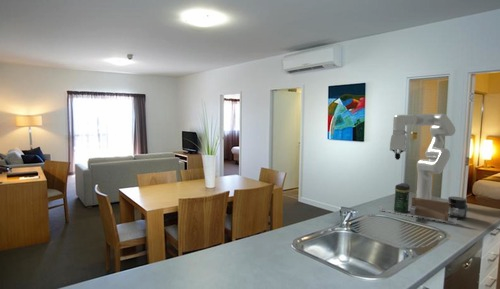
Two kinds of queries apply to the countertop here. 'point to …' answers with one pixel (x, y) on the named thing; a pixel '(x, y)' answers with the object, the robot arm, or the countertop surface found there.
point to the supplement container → (457, 207)
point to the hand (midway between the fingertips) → (397, 159)
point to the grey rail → (417, 215)
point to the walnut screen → (430, 208)
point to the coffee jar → (401, 197)
